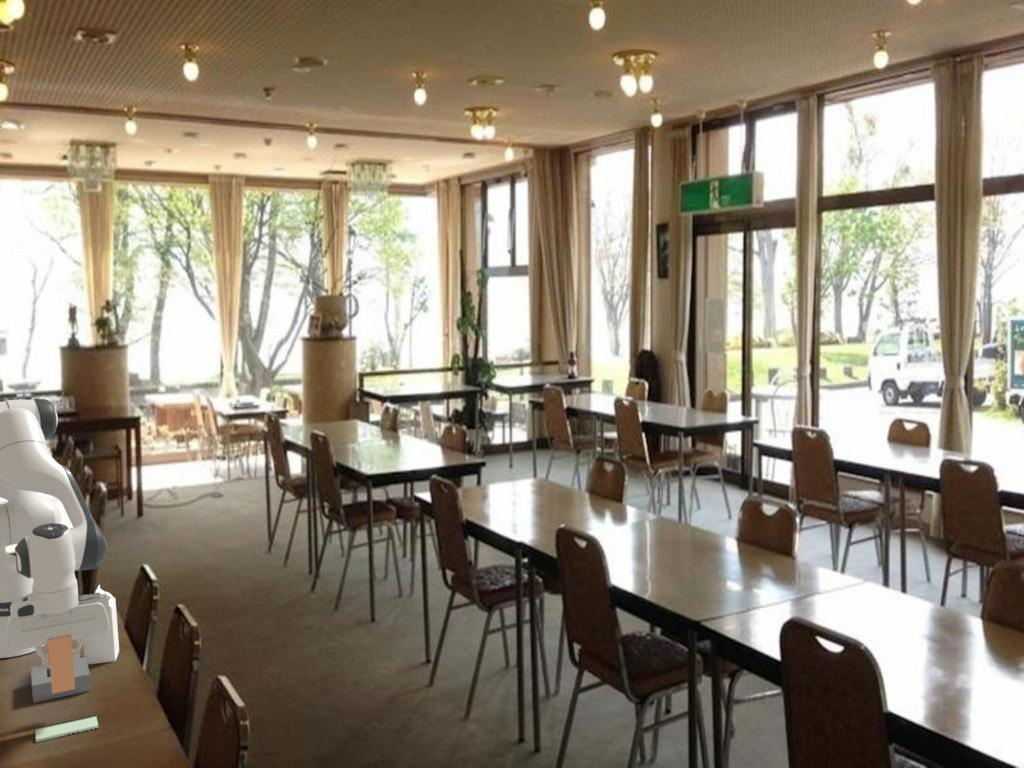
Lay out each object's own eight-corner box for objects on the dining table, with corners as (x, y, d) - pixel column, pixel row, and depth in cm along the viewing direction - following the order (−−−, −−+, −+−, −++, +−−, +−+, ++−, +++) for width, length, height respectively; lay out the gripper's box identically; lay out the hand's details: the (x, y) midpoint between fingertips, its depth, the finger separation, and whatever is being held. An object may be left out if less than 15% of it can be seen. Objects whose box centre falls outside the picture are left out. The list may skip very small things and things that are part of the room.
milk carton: (85, 668, 231) (79, 594, 229) (90, 657, 238) (84, 586, 235) (115, 664, 233) (110, 591, 231) (119, 654, 239) (114, 583, 237)
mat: (34, 711, 207) (34, 709, 207) (92, 699, 213) (92, 697, 213) (36, 742, 193) (35, 739, 193) (98, 728, 199) (98, 725, 199)
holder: (32, 687, 221) (30, 667, 220) (87, 676, 226) (86, 656, 226) (33, 706, 210) (31, 685, 210) (91, 694, 216) (89, 674, 215)
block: (51, 685, 203) (47, 633, 202) (74, 681, 205) (69, 629, 204) (52, 693, 199) (47, 640, 198) (75, 688, 201) (70, 635, 200)
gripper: (106, 587, 208) (111, 646, 209) (3, 603, 198) (8, 665, 200) (109, 595, 202) (113, 655, 204) (3, 612, 193) (8, 676, 194)
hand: (61, 660), depth 202 cm, fingers closed on block, 4 cm apart
